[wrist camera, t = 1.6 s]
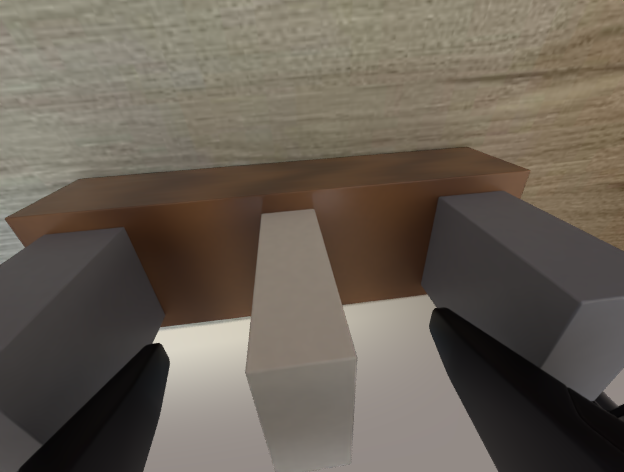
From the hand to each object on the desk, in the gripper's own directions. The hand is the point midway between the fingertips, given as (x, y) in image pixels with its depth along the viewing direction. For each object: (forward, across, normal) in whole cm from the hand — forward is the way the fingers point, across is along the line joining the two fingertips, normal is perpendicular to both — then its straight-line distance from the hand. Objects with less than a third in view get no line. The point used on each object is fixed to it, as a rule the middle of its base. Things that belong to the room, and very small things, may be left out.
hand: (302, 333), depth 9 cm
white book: (+4, 0, 0) cm, 4 cm away
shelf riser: (+9, 0, 0) cm, 9 cm away
